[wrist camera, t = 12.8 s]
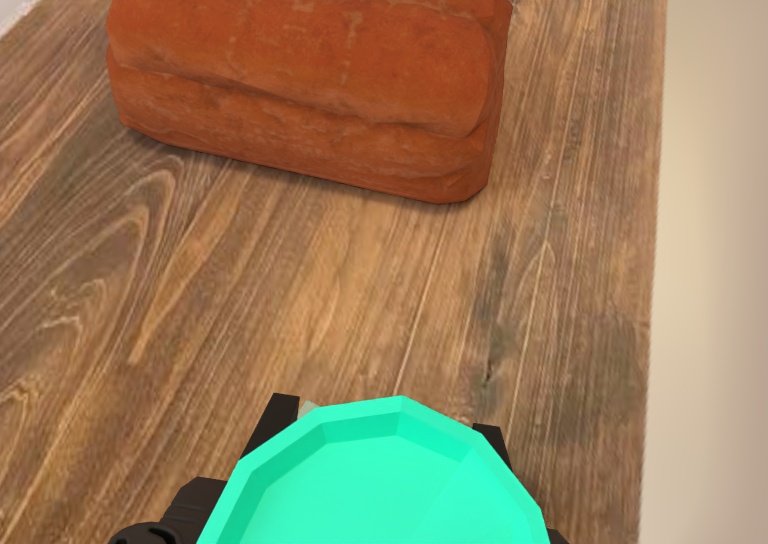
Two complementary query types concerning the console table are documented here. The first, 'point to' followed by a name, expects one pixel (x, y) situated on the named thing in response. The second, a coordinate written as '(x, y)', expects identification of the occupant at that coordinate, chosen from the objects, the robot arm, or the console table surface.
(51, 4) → the console table surface
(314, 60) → the bread
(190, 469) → the console table surface
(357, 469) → the candle
